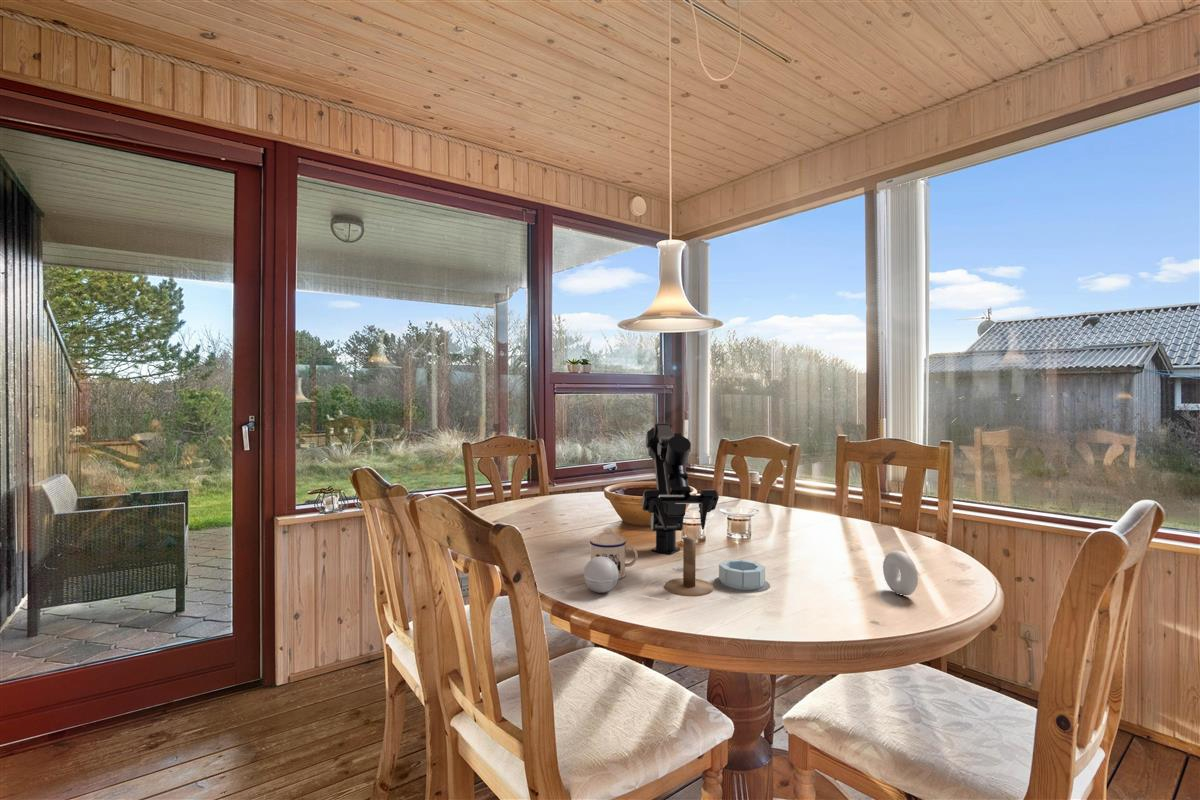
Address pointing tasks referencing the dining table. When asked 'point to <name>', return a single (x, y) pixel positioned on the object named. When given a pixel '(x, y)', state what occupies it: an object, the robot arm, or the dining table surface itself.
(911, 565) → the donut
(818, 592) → the dining table surface
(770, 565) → the dining table surface
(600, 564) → the bath bomb
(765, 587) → the trivet
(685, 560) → the lid
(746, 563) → the bowl
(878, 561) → the dining table surface
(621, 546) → the teacup with lid
